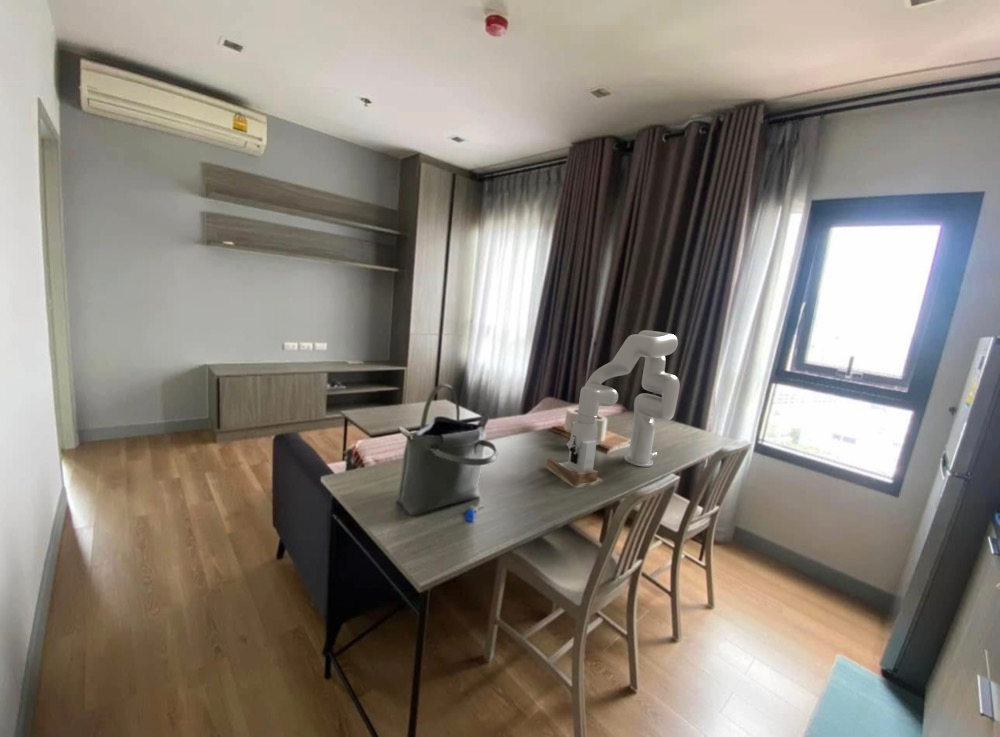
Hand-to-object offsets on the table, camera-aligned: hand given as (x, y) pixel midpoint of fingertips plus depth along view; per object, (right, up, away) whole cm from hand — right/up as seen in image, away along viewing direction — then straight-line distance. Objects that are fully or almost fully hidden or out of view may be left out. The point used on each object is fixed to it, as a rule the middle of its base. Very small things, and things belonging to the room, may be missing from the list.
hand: (581, 461), depth 163 cm
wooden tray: (-2, -6, +3) cm, 8 cm away
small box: (0, -4, +1) cm, 4 cm away
